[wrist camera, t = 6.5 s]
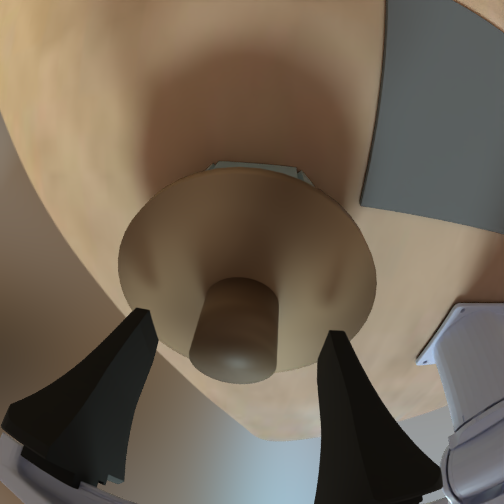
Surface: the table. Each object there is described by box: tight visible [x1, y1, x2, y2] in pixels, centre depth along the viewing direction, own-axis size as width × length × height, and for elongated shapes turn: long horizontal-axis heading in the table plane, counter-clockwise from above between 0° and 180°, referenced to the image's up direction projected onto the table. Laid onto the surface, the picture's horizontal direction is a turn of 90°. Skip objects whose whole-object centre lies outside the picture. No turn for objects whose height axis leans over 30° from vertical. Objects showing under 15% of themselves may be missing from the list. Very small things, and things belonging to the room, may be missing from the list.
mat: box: [359, 0, 504, 234], centre depth 10 cm, size 13×13×1 cm
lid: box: [118, 167, 377, 384], centre depth 11 cm, size 12×12×4 cm
